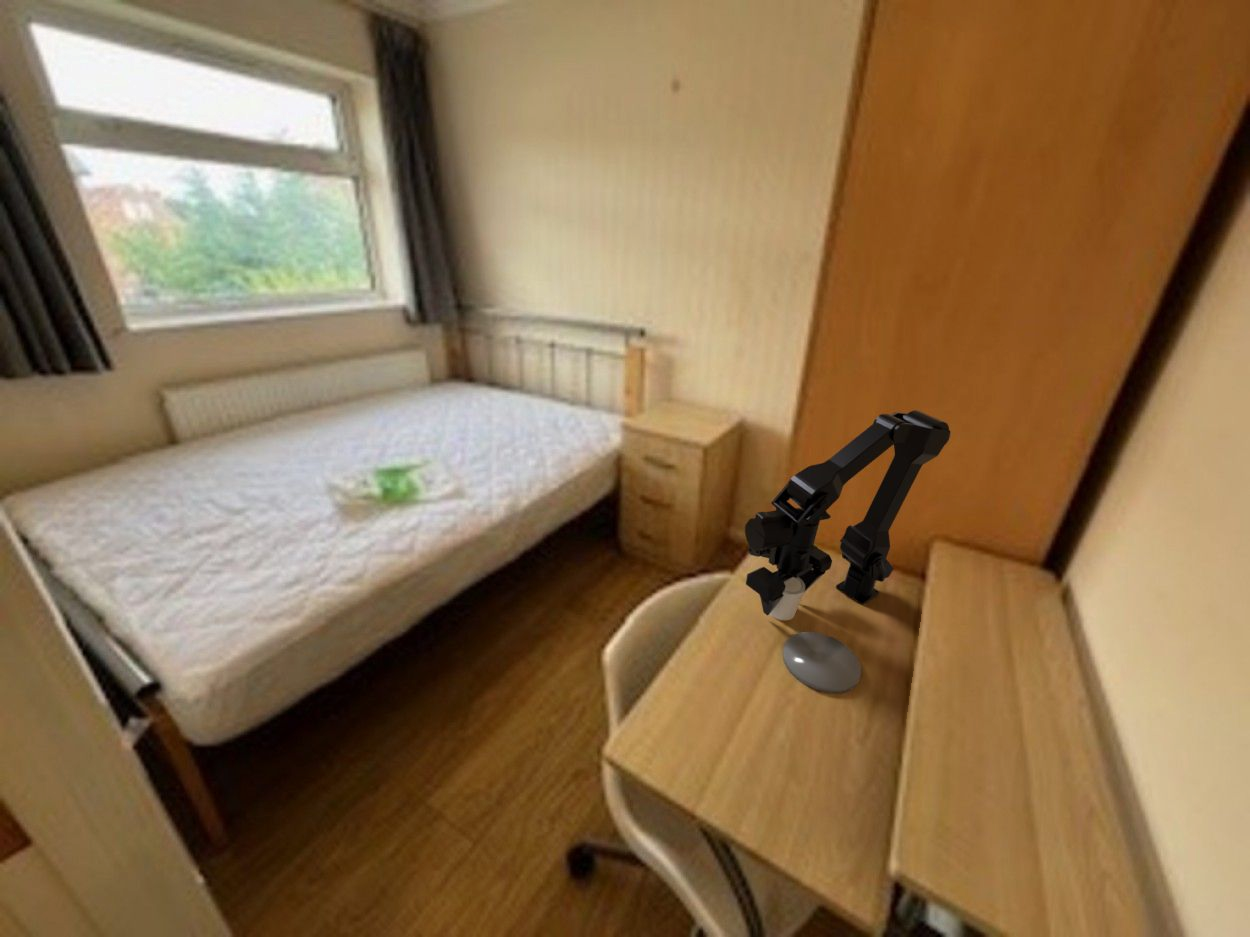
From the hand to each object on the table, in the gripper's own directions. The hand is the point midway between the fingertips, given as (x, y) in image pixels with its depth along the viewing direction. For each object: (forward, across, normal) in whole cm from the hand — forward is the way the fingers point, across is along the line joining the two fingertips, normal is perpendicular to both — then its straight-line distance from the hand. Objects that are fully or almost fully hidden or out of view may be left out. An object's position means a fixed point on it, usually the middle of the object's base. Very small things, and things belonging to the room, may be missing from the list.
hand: (781, 605), depth 108 cm
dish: (+1, +5, +13) cm, 14 cm away
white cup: (+2, 0, 0) cm, 2 cm away
